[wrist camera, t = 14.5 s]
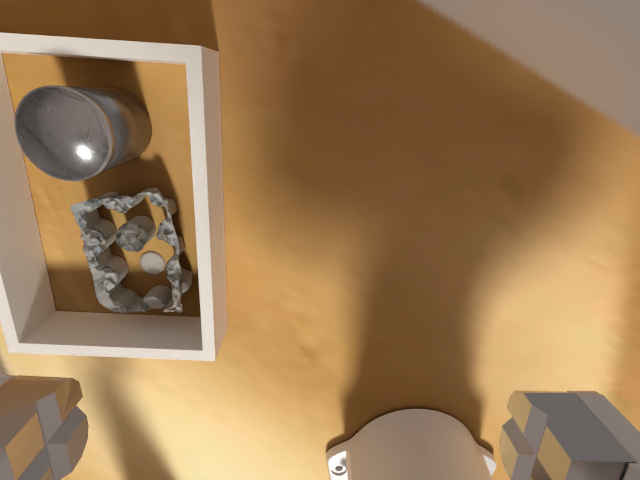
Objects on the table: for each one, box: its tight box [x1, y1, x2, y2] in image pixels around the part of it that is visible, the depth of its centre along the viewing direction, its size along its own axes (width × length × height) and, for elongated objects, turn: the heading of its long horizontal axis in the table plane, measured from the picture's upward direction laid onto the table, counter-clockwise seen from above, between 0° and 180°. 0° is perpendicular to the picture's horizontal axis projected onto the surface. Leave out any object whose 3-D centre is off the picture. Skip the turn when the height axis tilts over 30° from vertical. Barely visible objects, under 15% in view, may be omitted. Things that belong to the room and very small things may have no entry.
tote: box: [0, 33, 228, 361], centre depth 31 cm, size 24×17×5 cm
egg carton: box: [71, 188, 193, 314], centre depth 33 cm, size 11×8×4 cm
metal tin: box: [15, 86, 152, 181], centre depth 28 cm, size 6×6×7 cm
